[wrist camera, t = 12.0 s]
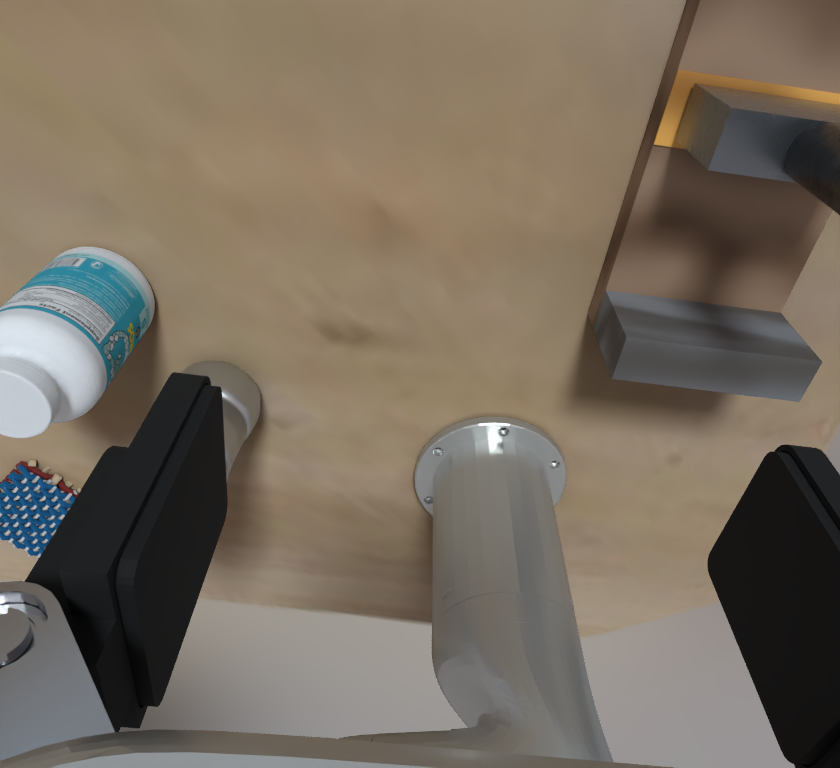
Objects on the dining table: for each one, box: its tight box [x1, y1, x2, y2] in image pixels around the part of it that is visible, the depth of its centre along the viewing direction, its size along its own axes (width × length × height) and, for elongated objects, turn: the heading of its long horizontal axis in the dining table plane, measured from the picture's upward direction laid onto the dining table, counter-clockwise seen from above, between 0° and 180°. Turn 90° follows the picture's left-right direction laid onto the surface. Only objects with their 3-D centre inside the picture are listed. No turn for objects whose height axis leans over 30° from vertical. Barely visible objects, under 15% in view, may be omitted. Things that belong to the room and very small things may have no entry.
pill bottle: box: [0, 247, 155, 438], centre depth 42 cm, size 8×7×14 cm
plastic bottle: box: [182, 361, 260, 482], centre depth 44 cm, size 6×7×20 cm
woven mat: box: [0, 459, 81, 558], centre depth 60 cm, size 10×11×2 cm
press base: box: [588, 0, 840, 402], centre depth 37 cm, size 26×12×8 cm, turn 172°
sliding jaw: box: [676, 83, 840, 215], centre depth 31 cm, size 3×10×16 cm, turn 83°
